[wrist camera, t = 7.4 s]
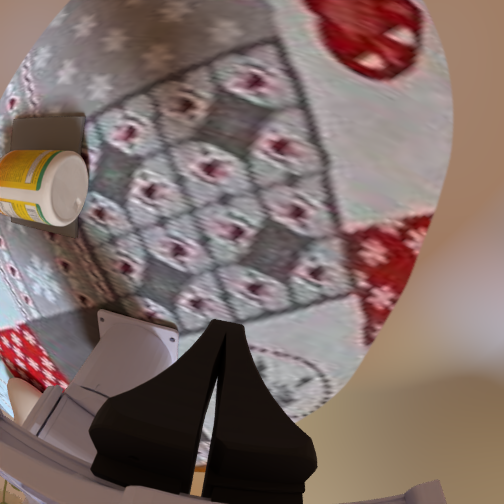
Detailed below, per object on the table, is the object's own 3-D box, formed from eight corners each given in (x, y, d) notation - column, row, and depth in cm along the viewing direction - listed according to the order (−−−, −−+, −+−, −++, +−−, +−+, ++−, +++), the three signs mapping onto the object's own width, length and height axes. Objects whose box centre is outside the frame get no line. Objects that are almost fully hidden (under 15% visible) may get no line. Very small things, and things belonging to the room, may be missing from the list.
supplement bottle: (50, 238, 16) (-22, 221, 15) (90, 213, 20) (16, 202, 20) (47, 156, 13) (-28, 157, 13) (92, 146, 18) (14, 146, 18)
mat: (77, 236, 21) (75, 238, 21) (13, 220, 21) (11, 221, 21) (85, 116, 18) (82, 116, 17) (16, 119, 17) (13, 119, 17)
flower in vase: (15, 392, 33) (-44, 486, 10) (11, 359, 29) (-68, 469, 6) (73, 434, 35) (25, 539, 12) (78, 409, 31) (16, 540, 8)
